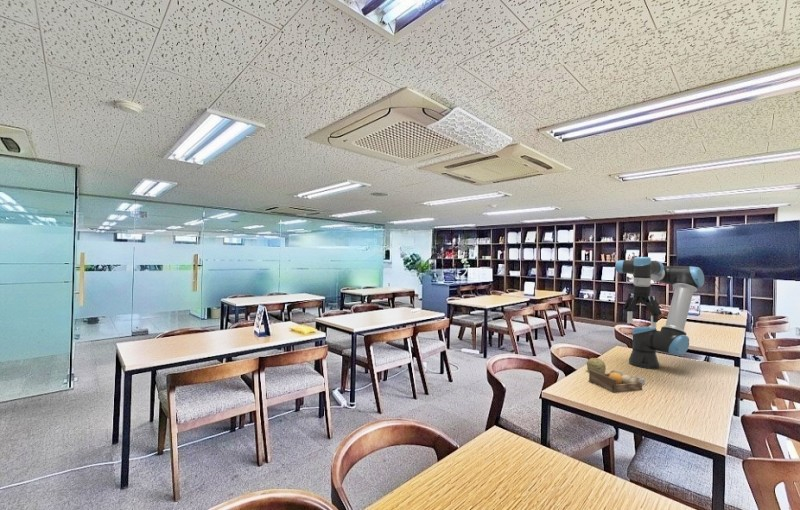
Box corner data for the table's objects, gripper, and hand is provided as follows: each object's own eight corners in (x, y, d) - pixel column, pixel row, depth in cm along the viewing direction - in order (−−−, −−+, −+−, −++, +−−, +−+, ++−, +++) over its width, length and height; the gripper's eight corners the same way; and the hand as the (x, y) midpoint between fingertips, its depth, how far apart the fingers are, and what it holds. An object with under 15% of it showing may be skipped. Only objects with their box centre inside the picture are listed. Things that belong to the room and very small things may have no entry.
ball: (613, 368, 179) (604, 374, 177) (623, 372, 173) (614, 378, 171) (616, 379, 179) (608, 384, 178) (627, 383, 174) (618, 389, 172)
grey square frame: (637, 381, 181) (637, 376, 181) (644, 384, 178) (644, 379, 178) (632, 382, 180) (632, 377, 180) (638, 384, 177) (638, 379, 177)
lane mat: (615, 379, 185) (615, 378, 185) (642, 389, 170) (642, 389, 170) (589, 381, 180) (589, 380, 180) (614, 392, 166) (614, 391, 166)
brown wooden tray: (615, 379, 185) (615, 367, 185) (642, 389, 170) (642, 377, 170) (589, 381, 180) (589, 370, 180) (614, 392, 166) (614, 380, 166)
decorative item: (602, 382, 191) (613, 367, 191) (588, 371, 191) (599, 356, 191) (593, 376, 200) (603, 362, 200) (579, 365, 200) (590, 352, 200)
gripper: (616, 283, 196) (615, 321, 196) (659, 288, 172) (658, 331, 172) (626, 283, 198) (626, 321, 198) (670, 288, 173) (670, 330, 173)
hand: (641, 325), depth 185 cm, fingers open, 13 cm apart
